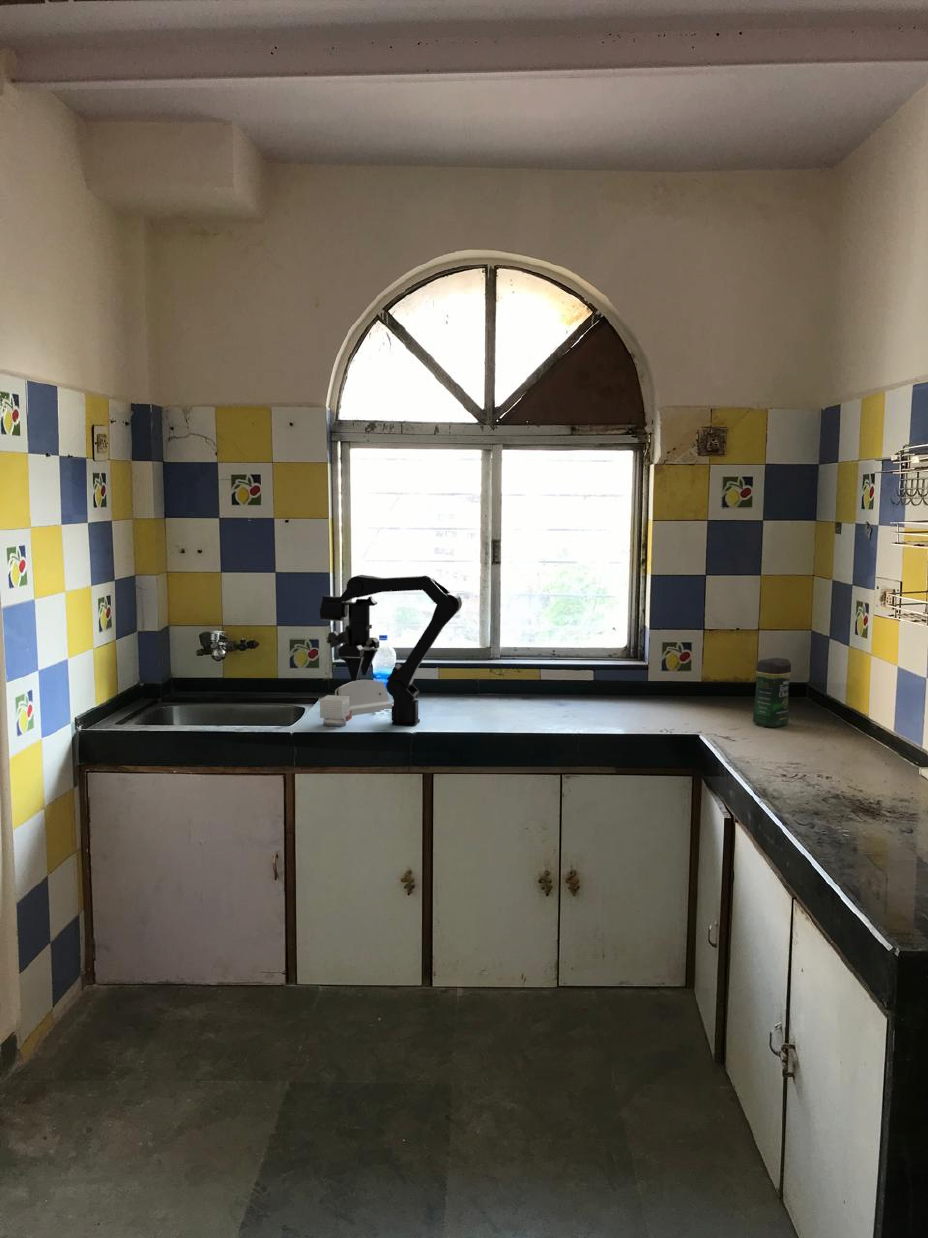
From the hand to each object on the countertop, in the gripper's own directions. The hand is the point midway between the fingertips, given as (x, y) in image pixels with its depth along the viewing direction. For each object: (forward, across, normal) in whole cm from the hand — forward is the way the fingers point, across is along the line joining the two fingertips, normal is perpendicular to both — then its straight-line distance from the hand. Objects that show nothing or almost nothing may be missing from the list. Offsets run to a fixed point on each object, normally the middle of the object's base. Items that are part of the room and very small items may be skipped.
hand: (359, 678), depth 265 cm
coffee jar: (+12, -25, +111) cm, 114 cm away
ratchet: (+12, +3, -5) cm, 13 cm away
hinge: (+12, -14, -3) cm, 19 cm away
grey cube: (+10, +6, -5) cm, 12 cm away
